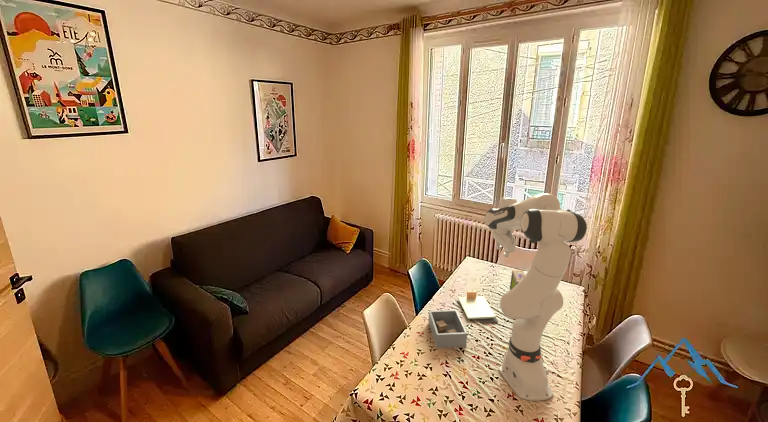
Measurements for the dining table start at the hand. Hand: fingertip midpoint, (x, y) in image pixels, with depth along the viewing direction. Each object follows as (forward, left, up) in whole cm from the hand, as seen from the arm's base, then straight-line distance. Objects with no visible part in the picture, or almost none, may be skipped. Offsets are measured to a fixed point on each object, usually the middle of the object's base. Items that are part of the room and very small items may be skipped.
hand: (502, 252), depth 176 cm
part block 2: (-25, +31, -32) cm, 51 cm away
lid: (-3, +12, -32) cm, 35 cm away
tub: (-21, +33, -33) cm, 51 cm away
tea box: (+7, -17, -33) cm, 38 cm away
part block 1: (-18, +35, -32) cm, 51 cm away
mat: (-3, +12, -33) cm, 35 cm away
